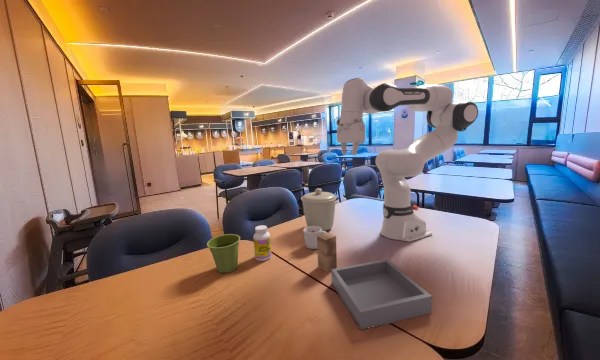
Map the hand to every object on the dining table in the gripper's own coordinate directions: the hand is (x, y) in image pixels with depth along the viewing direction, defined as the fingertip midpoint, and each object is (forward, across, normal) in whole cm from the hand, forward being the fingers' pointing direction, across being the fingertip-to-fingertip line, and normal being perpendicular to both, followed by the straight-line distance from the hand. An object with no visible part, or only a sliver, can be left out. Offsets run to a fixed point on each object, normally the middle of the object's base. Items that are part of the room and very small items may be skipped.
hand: (348, 154), depth 101 cm
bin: (+40, -37, +5) cm, 54 cm away
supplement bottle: (+43, -2, +35) cm, 55 cm away
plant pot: (+44, -6, +49) cm, 66 cm away
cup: (+40, 0, +12) cm, 42 cm away
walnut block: (+40, -17, +13) cm, 46 cm away
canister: (+40, +20, +4) cm, 45 cm away
